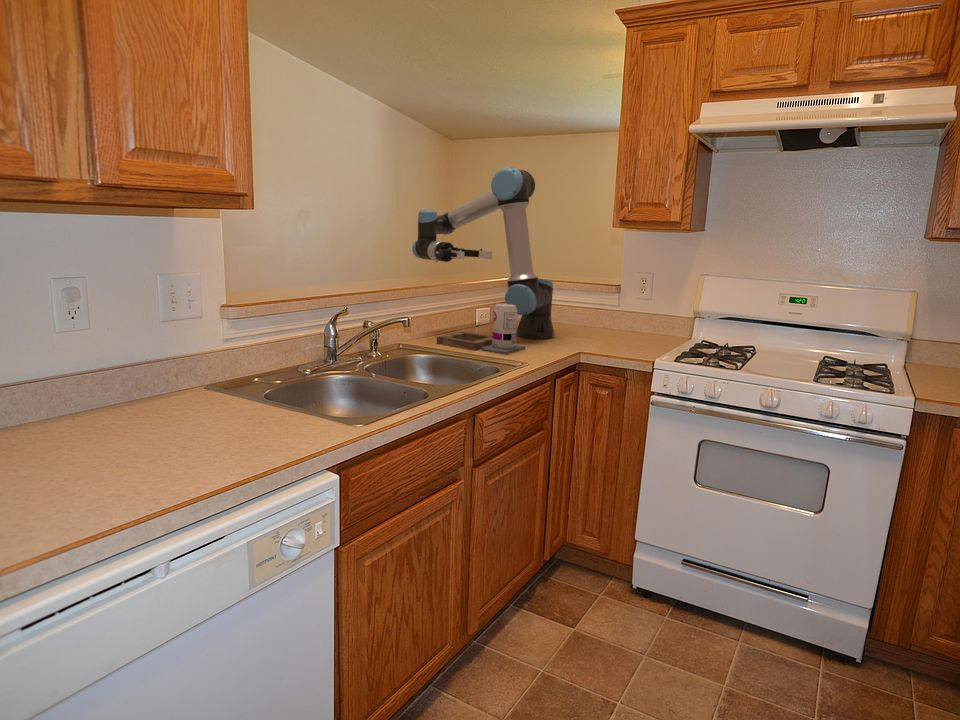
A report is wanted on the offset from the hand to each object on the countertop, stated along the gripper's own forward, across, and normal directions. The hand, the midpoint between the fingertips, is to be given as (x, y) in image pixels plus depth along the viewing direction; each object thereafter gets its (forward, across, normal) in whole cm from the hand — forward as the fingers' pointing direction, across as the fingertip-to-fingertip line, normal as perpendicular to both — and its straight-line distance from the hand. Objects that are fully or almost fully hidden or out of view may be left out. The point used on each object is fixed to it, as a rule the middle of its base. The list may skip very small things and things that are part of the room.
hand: (477, 255), depth 232 cm
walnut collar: (+3, +6, -32) cm, 33 cm away
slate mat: (+18, +2, -32) cm, 37 cm away
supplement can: (+18, +2, -31) cm, 36 cm away
